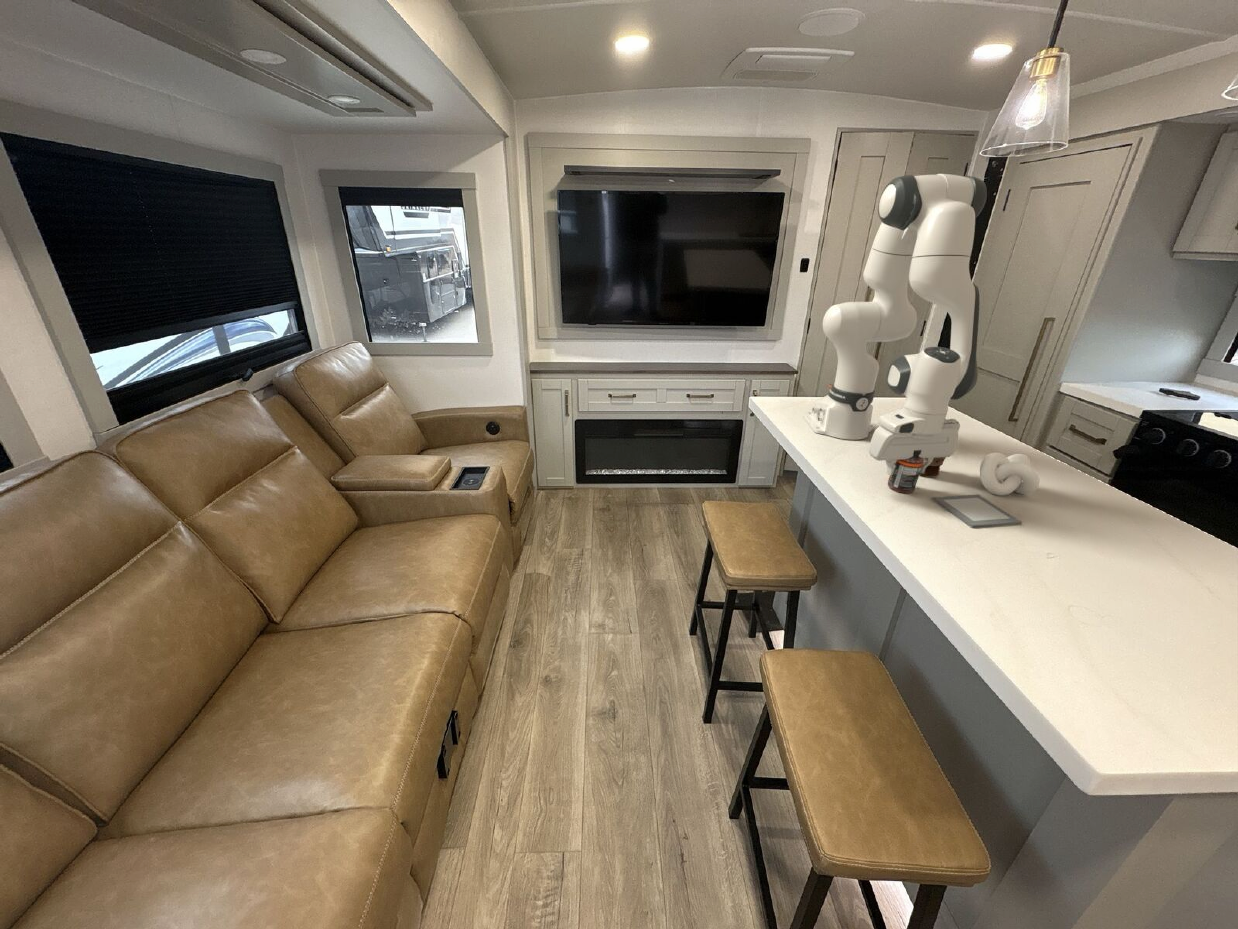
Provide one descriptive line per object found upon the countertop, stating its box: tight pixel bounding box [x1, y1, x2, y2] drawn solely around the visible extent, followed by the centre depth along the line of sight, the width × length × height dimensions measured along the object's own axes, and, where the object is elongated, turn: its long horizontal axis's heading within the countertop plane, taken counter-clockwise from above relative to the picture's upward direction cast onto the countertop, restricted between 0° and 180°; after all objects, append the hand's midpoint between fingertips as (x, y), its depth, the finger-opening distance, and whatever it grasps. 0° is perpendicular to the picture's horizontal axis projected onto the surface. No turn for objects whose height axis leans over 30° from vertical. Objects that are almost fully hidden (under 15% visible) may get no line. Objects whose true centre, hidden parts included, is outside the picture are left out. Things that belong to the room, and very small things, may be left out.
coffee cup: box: [919, 457, 947, 478], centre depth 124 cm, size 9×8×13 cm
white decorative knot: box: [979, 452, 1041, 496], centre depth 118 cm, size 11×12×9 cm
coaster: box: [931, 493, 1023, 529], centre depth 110 cm, size 12×12×1 cm
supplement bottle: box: [887, 450, 924, 494], centre depth 117 cm, size 6×6×11 cm
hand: (904, 473), depth 118 cm, fingers closed on supplement bottle, 6 cm apart
